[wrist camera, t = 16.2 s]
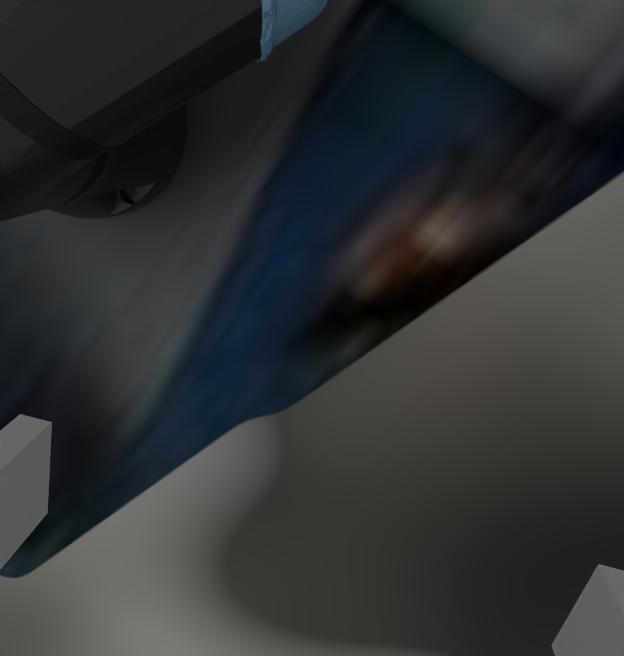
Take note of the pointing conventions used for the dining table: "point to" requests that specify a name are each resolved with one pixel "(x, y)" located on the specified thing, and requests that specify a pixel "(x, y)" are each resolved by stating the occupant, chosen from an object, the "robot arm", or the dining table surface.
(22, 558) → the dining table surface
